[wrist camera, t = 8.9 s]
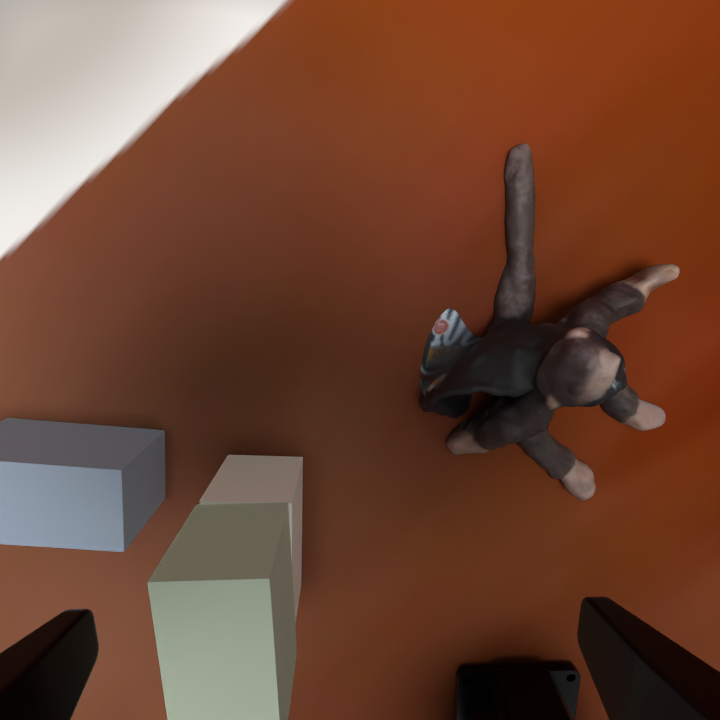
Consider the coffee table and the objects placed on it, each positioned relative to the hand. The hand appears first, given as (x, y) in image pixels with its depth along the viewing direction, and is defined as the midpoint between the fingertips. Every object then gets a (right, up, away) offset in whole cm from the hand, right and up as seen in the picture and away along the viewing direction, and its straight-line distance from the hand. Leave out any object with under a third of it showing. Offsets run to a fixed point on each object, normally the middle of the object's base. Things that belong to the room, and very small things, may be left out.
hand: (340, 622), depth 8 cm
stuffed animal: (+8, +6, +12) cm, 16 cm away
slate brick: (-12, 0, +12) cm, 17 cm away
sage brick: (-4, -4, +9) cm, 11 cm away
